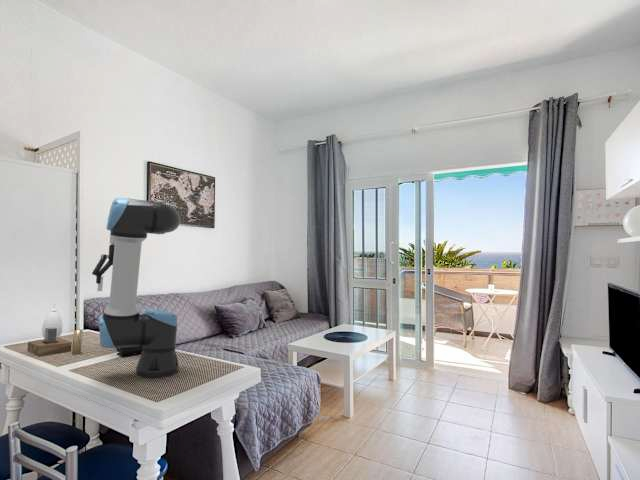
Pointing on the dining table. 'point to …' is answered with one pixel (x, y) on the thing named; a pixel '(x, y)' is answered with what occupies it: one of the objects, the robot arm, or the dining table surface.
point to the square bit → (50, 335)
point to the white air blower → (53, 322)
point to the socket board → (49, 347)
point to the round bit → (77, 341)
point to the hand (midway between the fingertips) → (115, 290)
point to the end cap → (129, 350)
